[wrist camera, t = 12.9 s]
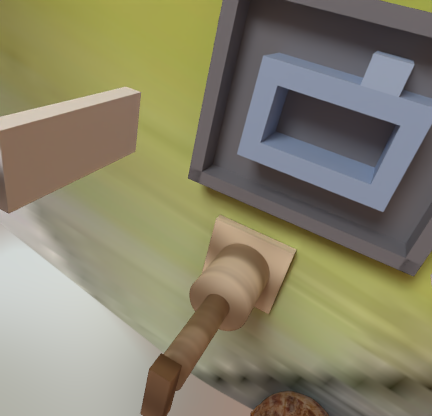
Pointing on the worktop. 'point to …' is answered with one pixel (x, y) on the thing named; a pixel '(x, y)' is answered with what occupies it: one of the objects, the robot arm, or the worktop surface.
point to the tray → (319, 119)
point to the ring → (346, 97)
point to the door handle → (219, 303)
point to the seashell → (289, 405)
